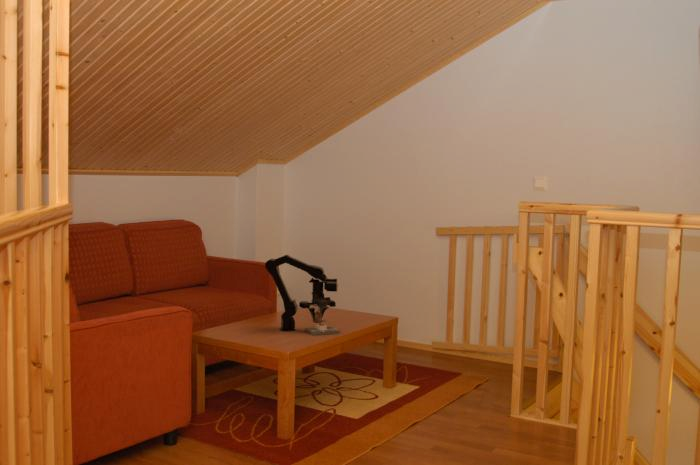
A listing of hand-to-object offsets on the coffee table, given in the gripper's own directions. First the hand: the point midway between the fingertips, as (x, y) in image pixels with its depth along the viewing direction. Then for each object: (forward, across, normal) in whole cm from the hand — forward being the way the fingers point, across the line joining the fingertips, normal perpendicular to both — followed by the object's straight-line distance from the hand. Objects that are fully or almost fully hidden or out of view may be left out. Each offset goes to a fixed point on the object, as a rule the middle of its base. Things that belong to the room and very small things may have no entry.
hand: (317, 320), depth 415 cm
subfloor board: (+6, +2, -4) cm, 7 cm away
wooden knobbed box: (+1, 0, 0) cm, 1 cm away
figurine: (+6, +11, +24) cm, 27 cm away
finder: (+4, 0, -6) cm, 7 cm away
